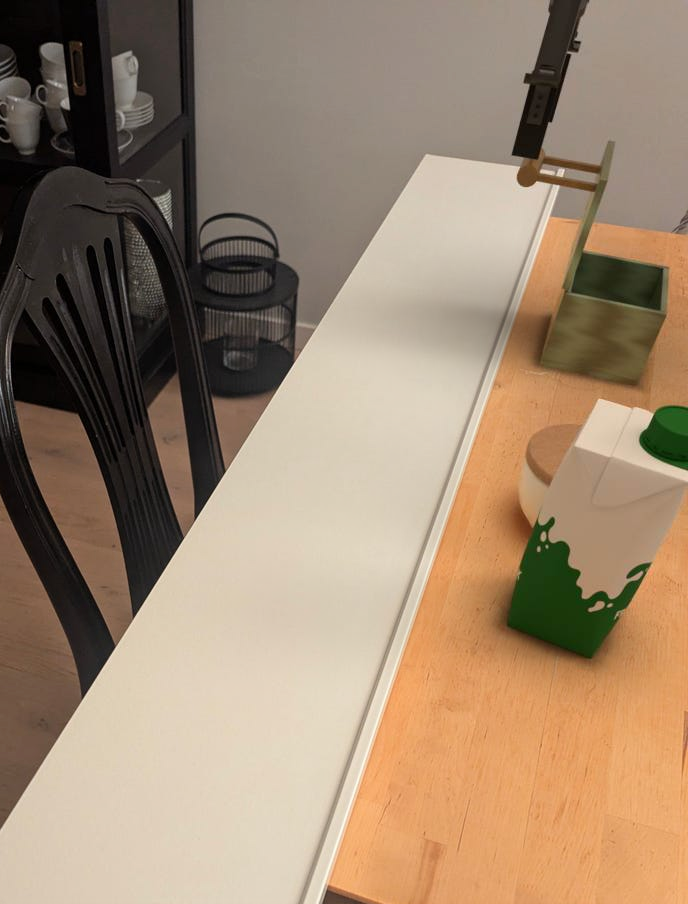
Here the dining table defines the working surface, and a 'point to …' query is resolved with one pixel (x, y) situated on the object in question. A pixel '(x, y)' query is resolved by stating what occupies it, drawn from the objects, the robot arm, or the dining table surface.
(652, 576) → the dining table surface
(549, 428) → the trinket box
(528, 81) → the robot arm
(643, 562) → the soya milk
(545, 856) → the dining table surface
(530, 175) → the lid
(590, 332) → the chest
